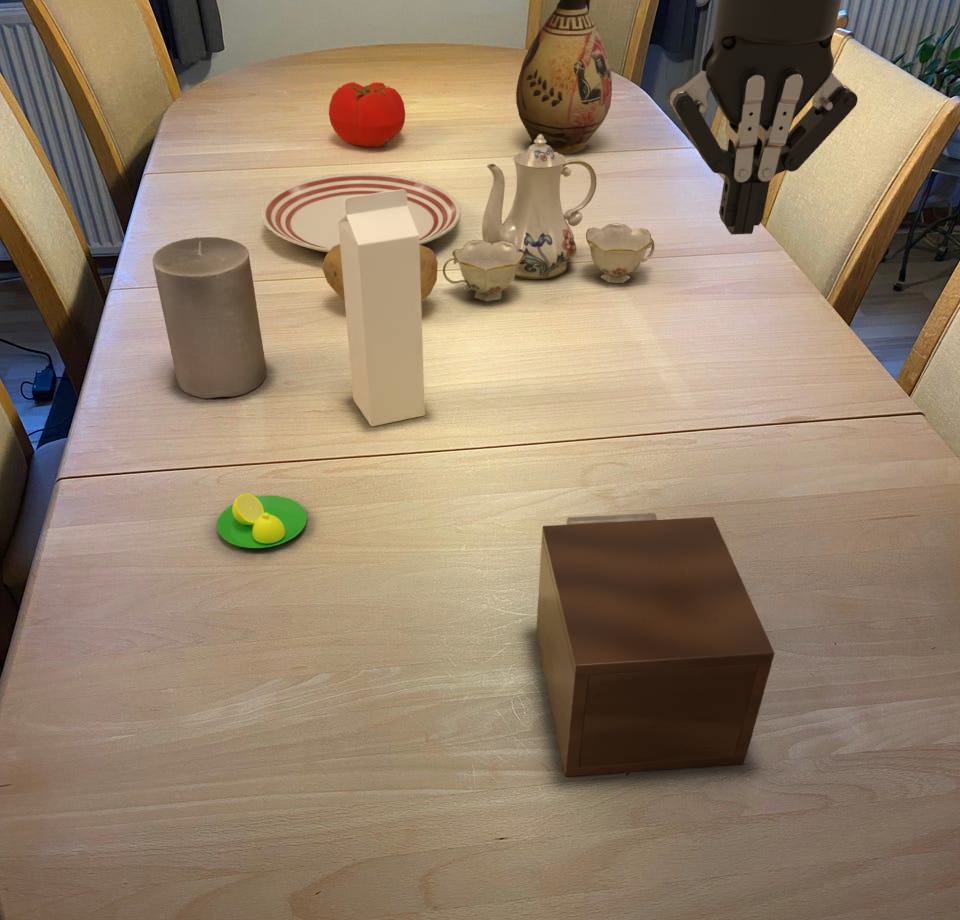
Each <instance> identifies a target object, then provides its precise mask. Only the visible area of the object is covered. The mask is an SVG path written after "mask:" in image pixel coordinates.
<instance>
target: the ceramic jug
mask: <svg viewBox="0 0 960 920" xmlns="http://www.w3.org/2000/svg"><path fill="white" fill-rule="evenodd" d="M590 4H591V0H559V1H558V3H557V4H556V8H555V10H554V11H552V13H551V14H550V15H549V17H548V18H547V19H546V21H545V23H544V24H543V26H542V27H541V28H540V29H539V31H538V33H537V34H536V36H535V38H534V39H533V41H532V43H531V45H530V47H529V48H528V50H527V52H526V55H525V56H524V60H522V61H523V62H522V64H521V68H520V72H519V75H518V79H517V83H516V90H515V103H516V108H517V111H518V116H519V119H520V121H521V123H522V125H523V127H524V128H525V130H526V133H527V134H528V136H529V138H530V143H529V146H531V145H533V144H535V143H534V140H535V139H537V136H538V135H539V134H542V135H543V137H544V139H545V140H546V143H545V144H546V145H548V146H550V147H551V148H552V149H553V151H554V152H557V153H558V154H561V155H571V154H576V153H578V152H581V151H583V150H584V149H585V148H586V146H587V144H588V142H589V140H590V139H591V137H593V135H594V133H595V132H596V131H597V130H598V129H599V128H600V127H601V125H602V124H603V122H604V121H605V119H606V117H607V116H608V113H609V111H610V108H611V104H612V95H613V80H612V78H613V77H612V71H611V65H610V60H609V57H608V53H607V52H606V48H605V46H604V43H603V41H602V39H601V36H600V34H599V31H598V29H597V27H596V24H595V22H594V20H593V18H592V17H591V14H590Z"/></svg>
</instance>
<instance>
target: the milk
mask: <svg viewBox="0 0 960 920" xmlns="http://www.w3.org/2000/svg"><path fill="white" fill-rule="evenodd" d="M345 208H346V215H345V216H344V217H343V218H342V219H341V220H340V221H339V222H338V227H339V238H340V250H341V262H342V273H343V285H344V297H345V301H344V306H345V318H346V331H347V332H346V333H347V341H348V342H347V343H348V353H349V365H350V367H349V368H350V378H351V389H352V400H353V402H354V403H355V404H356V406H357V407H358V409H359V410H360V412H361V414H362V416H364V418H365V419H366V421H367V423H368V424H369V425H370V427H377V426H381V425H386V424H390V423H391V424H392V423H396V422H400V421H405V420H409V419H413V418H419V417H424V416H425V415H426V410H425V409H426V408H425V407H426V405H425V403H426V402H425V378H424V377H425V375H424V348H423V346H424V345H423V344H424V343H423V317H422V316H423V315H422V314H423V313H422V303H421V282H420V251H419V234H418V231H417V229H416V226H415V224H414V221H413V219H412V216H411V214H410V211H409V209H408V206H407V192H406V191H405V190H404V189H401V190H394V191H387V192H380V193H373V194H366V195H359V196H352V197H347V198H346V200H345Z"/></svg>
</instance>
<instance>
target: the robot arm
mask: <svg viewBox="0 0 960 920" xmlns="http://www.w3.org/2000/svg"><path fill="white" fill-rule="evenodd" d="M841 3H842V0H718V1H717V8H716V14H715V21H714V30H713V37H712V42H711V44H710V47H709V48H708V50H707V52H706V53H705V54H704V57H703V59H702V63H701V71H700V72H698V73H697V74H696V75H695V76H693V77H692V78H690V80H688V81H687V82H686V83H685V84H684V85H682V86H681V85H680V84H675V85H672V86H671V87H670V88H669V89H668V91H667V94H666V99H667V101H668V103H669V105H670V107H671V108H672V110H673V112H674V113H675V115H676V116H677V118H678V120H679V122H680V123H681V125H682V126H683V129H684V130H685V132H686V133H687V136H688V137H689V138H690V140H691V142H692V143H693V145H694V147H695V149H696V150H697V152H698V154H699V156H700V158H702V160H703V161H704V162H705V164H706V165H707V166H708V168H709V169H710V170H711V172H712V173H714V174H721V175H724V180H723V185H722V192H721V197H720V198H721V199H720V205H719V211H718V214H719V218H720V221H721V222H722V223H723V225H724V226H725V228H726V229H727V231H728V232H729V234H730V235H735V236H736V235H752V234H753V232H754V230H755V229H754V228H755V226H760V225H761V223H762V221H763V219H764V214H765V209H766V205H767V204H766V203H767V200H768V199H767V198H768V194H769V188H770V183H771V181H772V179H773V178H774V177H775V176H777V175H778V174H781V173H783V172H786V171H788V172H792V173H793V172H795V171H797V170H799V169H800V168H801V167H802V166H803V164H805V162H806V161H807V160H808V159H809V158H811V156H812V154H813V153H814V152H815V151H817V149H818V148H819V147H820V146H821V145H822V144H823V142H825V140H827V138H828V137H829V136H830V135H831V134H832V133H833V131H835V130H836V128H837V127H838V126H839V125H840V124H841V123H842V122H843V121H844V120H845V119H846V117H848V116H849V114H850V113H851V112H852V111H853V110H854V108H855V107H857V104H858V95H857V94H856V93H855V92H854V91H853V90H852V89H851V88H849V86H847V85H846V84H844V83H842V81H840V79H839V78H838V77H837V76H836V75H835V74H834V73H833V70H834V67H835V66H834V65H835V59H834V56H833V52H832V40H833V36H834V34H835V31H836V26H837V22H838V17H839V12H840V7H841ZM709 91H710V92H711V93H712V96H713V98H714V100H715V102H716V104H717V106H718V107H719V110H720V112H721V113H722V115H723V116H724V117H725V119H726V121H725V135H726V145H725V149H724V148H721V145H720V144H719V142H718V141H717V138H715V135H714V134H713V132H712V130H711V128H710V126H709V125H708V123H707V122H706V120H705V118H704V116H703V115H705V114H706V113H707V111H708V109H709V100H708V93H709ZM811 100H812V101H811ZM810 101H811V102H812V106H811V107H810V108H809V109H808V110H807V112H805V114H804V115H803V116H801V118H800V120H798V121H797V122H796V124H795V125H794V126H793V127H792V128H791V125H792V121H793V120H794V119H795V118H796V117H798V115H799V114H800V113H801V111H803V109H805V107H806V106H807V104H809V102H810Z"/></svg>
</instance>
